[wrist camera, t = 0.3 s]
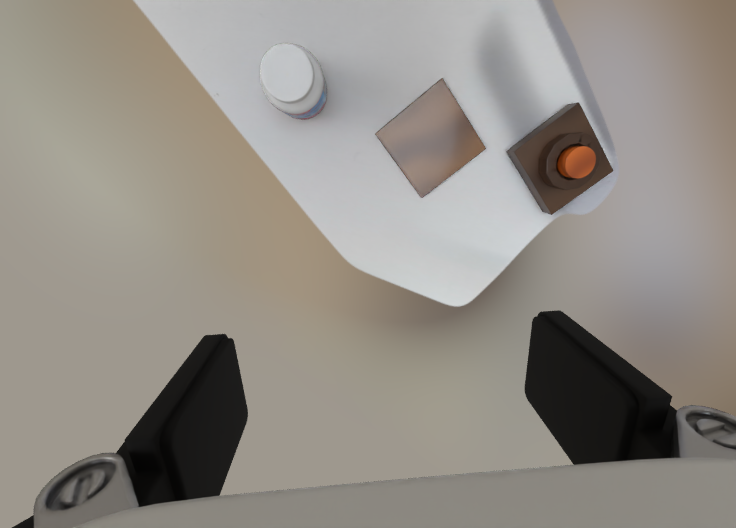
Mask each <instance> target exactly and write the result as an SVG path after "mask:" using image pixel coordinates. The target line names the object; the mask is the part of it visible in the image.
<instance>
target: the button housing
mask: <svg viewBox="0 0 736 528" xmlns="http://www.w3.org/2000/svg"><path fill="white" fill-rule="evenodd" d="M572 146H586V147H589V148H591V149H592V150H593V151H594V153H595V156H596V163H595V166H594V168H593V170H592V171H591V172H590V173H589V174H588V175H587V176H585V177H583V178H578V179H577V178H569V177H565V176H563V175H561V174H560V172H559V171H558V168H557V162H558V158H559V156H560V154H561V153H562V152H563V151H564V150H565V149H567V148H569V147H572ZM507 153H508V155H509V156H510V158H511V160H512V161H513V163H514V165H515V166H516V168H517V170H518V171H519V173H520V175H521V176H522V178H523V180H524V181H525V183H526V185H527V186H528V188H529V190H530V191H531V193H532V195H533V196H534V198H535V200H536V201H537V203H538V205H539V206H540V208H541V210H542V211H543V212H545V213H548V214H551V215H552V214H553V213H555V212H556V211H558V210H559V209H560V208H562V207H563V206H565V205H566V204H567V203H569V202H570V201H572V200H573V199H574V198H576V197H577V196H579V195H580V194H582V193H583V192H584V191H586V190H587V189H589V188H590V187H591V186H593V185H594V184H596V183H597V182H598V181H600V180H601V179H603V178H604V177H605V176H607V175H608V174H610V173H611V172H612V171H613V169H612V167H611V165H610V163H609V161H608V159H607V157H606V155H605V153H604V151H603V149H602V147H601V145H600V143H599V141H598V139H597V137H596V135H595V133H594V131H593V129H592V127H591V126H590V124H589V122H588V120H587V118H586V116H585V114H584V112H583V110H582V108H581V106H580V104H579V103H573V104H568V105H566V106H565V107H564V108H563V109H561V110H560V111H559V112H557V113H556V114H555V115H553V116H552V117H551V118H549V119H548V120H547V121H545V122H544V123H543V124H542V125H540V126H539V127H538V128H536V129H535V130H534V131H532V132H531V133H530V134H528V135H527V136H526V137H524V138H523V139H522V140H521V141H519V142H518V143H517V144H515V145H514V146H513V147H511V148H510V149H509V150H507Z"/></svg>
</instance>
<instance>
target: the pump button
mask: <svg viewBox="0 0 736 528" xmlns="http://www.w3.org/2000/svg"><path fill="white" fill-rule="evenodd" d="M595 163H596V156H595V153H594V151H593V150H592V149H591V148H589V147H586V146H572V147H569V148H567V149H565V150H564V151H563V152H562V153H561V154H560V156H559V158H558V162H557V168H558V171H559V172H560V174H561V175H563V176H565V177H569V178H577V179H578V178H583V177H585V176H587V175H588V174H589V173H590V172H591V171H592V170H593V168H594V166H595Z"/></svg>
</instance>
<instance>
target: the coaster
mask: <svg viewBox="0 0 736 528" xmlns="http://www.w3.org/2000/svg"><path fill="white" fill-rule="evenodd" d="M376 136H377V137H378V138H379V140H380V141H381V142H382V144H383V145H384V147H385V148H386V149H387V151H388V152H389V154H390V155H391V156H392V158H393V159H394V160H395V162H396V163H397V165H398V166H399V167H400V169H401V170H402V172H403V173H404V174H405V176H406V177H407V178H408V180H409V181H410V183H411V184H412V185H413V187H414V188H415V189H416V191H417V192H418V194H419V195H420V196H421V198H423V197H424V196H425V195H426V194H428V193H429V192H430V191H432V190H433V189H434V188H436V187H437V186H438V185H439V184H441V183H442V182H443V181H445V180H446V179H447V178H448V177H450V176H451V175H452V174H454V173H455V172H456V171H458V170H459V169H460V168H461V167H463V166H464V165H465V164H467V163H468V162H469V161H470V160H472V159H473V158H474V157H476V156H477V155H478V154H480V153H481V152H482V151H483V150H485V149H486V148H485V146H484V144H483V143H482V141H481V140H480V138H479V136H478V135H477V133H476V132H475V130H474V128H473V127H472V125H471V124H470V122H469V120H468V119H467V117H466V116H465V114H464V112H463V111H462V109H461V107H460V106H459V104H458V103H457V101H456V99H455V98H454V96H453V95H452V93H451V91H450V90H449V88H448V87H447V85H446V83H445V82H444V80H443V79H441V80H440V81H438V82H437V83H436V84H435V85H434V86H432V87H431V88H430V89H429V90H427V91H426V92H425V93H424V94H423V95H421V96H420V97H419V98H418V99H417V100H415V101H414V102H413V103H412V104H411V105H409V106H408V107H407V108H406V109H405V110H403V111H402V112H401V113H400V114H399V115H397V116H396V117H395V118H394V119H393V120H391V121H390V122H389V123H388V124H387V125H385V126H384V127H383V128H382V129H381V130H379V131H378V132H377V133H376Z"/></svg>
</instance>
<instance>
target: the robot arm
mask: <svg viewBox="0 0 736 528" xmlns="http://www.w3.org/2000/svg"><path fill="white" fill-rule="evenodd" d="M525 394H526V397H527V399H528V401H529V402H530V404H531V405H532V407H533V408H534V409H535V411H536V412H537V414H538V415H539V416H540V418H541V419H542V421H543V422H544V423H545V425H546V426H547V428H548V429H549V430H550V432H551V433H552V435H553V436H554V437H555V439H556V440H557V441H558V443H559V444H560V446H561V447H562V449H563V450H564V452H565V453H566V454H567V456H568V457H569V459H570V460H571V461H572V463H573V464H574V465H565V466H552V467H540V468H527V469H515V470H502V471H490V472H479V473H467V474H455V475H443V476H431V477H420V478H408V479H398V480H386V481H374V482H363V483H352V484H342V485H330V486H320V487H309V488H298V489H289V490H288V489H287V490H277V491H266V492H256V493H246V494H245V493H244V494H235V495H224V496H219V495H220V492H221V490H222V487H223V484H224V482H225V479H226V476H227V473H228V471H229V468H230V466H231V463H232V460H233V457H234V455H235V452H236V449H237V447H238V444H239V441H240V438H241V436H242V433H243V430H244V428H245V425H246V422H247V417H248V410H247V405H246V400H245V395H244V390H243V384H242V379H241V374H240V369H239V365H238V359H237V354H236V350H235V344H234V341H233V339H232V338H228V337H227V336H226V335H225V334H218V335H206V336H204V337H203V338H202V340H201V341H200V342H199V344H198V345H197V346H196V347H195V349H194V350H193V352H192V353H191V354H190V355H189V357H188V358H187V359H186V361H185V362H184V363H183V364H182V366H181V367H180V368H179V370H178V371H177V372H176V374H175V375H174V376H173V378H172V379H171V380H170V381H169V383H168V384H167V385H166V387H165V388H164V389H163V390H162V392H161V393H160V395H159V396H158V397H157V398H156V400H155V401H154V402H153V404H152V405H151V406H150V408H149V409H148V410H147V412H146V413H145V414H144V415H143V417H142V418H141V419H140V421H139V422H138V423H137V424H136V426H135V427H134V428H133V430H132V431H131V432H130V434H129V435H128V436H127V437H126V439H125V442H124V443H123V445H122V446H121V447H120V448H119V450H118V451H117V453H116V454H115V453H101V454H97V455H92V456H90V457H87V458H85V459H83V460H80V461H78V462H76V463H74V464H72V465H71V466H69V467H67V468H66V469H64V470H63V471H61V472H60V473H59V474H58V475H56V476H55V477H54V478H53V479H51V480H50V481H49V483H48V484H47V485H46V486H45V487H44V488H43V489H42V490H41V492H40V494H39V495H38V496H37V498H36V501H35V505H34V515H33V516H31V517H30V518H28V519H26V520H25V521H23V522H21V523H19V524H18V525H16V526H14V527H12V528H736V417H735V416H733V415H731V414H728V413H725V412H723V411H720V410H717V409H714V408H709V407H705V406H696V405H690V406H683V407H681V408H680V409H678V410H675V409H674V408H673V407H672V406H670V402H671V398H672V396H671V395H670V394H668V393H667V392H666V391H665V390H663V389H662V388H661V387H659V386H658V385H657V384H656V383H654V382H653V381H651V380H650V379H649V378H648V377H646V376H645V375H644V374H643V373H641V372H640V371H639V370H637V369H636V368H635V367H633V366H632V365H631V364H629V363H628V362H627V361H626V360H624V359H623V358H622V357H620V356H619V355H618V354H616V353H615V352H614V351H612V350H611V349H610V348H609V347H607V346H606V345H605V344H603V343H602V342H601V341H599V340H598V339H597V338H596V337H594V336H593V335H592V334H590V333H589V332H588V331H586V330H585V329H584V328H583V327H581V326H580V325H579V324H577V323H576V322H575V321H573V320H572V319H571V318H570V317H568V316H567V315H566V314H564V313H563V312H561V311H546V312H540V313H539V314H538V316H537V317H534V319H533V321H532V330H531V338H530V347H529V356H528V365H527V372H526V381H525Z"/></svg>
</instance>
